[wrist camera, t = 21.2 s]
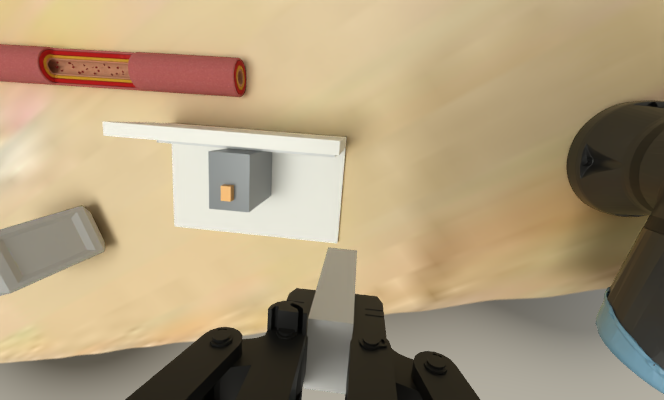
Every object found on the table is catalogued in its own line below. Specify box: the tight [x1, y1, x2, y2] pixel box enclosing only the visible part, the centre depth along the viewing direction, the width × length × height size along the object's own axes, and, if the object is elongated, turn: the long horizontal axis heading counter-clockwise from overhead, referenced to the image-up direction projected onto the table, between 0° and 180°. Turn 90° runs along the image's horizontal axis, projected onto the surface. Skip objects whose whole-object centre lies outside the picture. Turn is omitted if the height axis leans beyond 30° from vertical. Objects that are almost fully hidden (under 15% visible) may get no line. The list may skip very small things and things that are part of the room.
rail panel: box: [103, 122, 347, 243], centre depth 43 cm, size 26×16×14 cm, turn 86°
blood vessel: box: [0, 44, 246, 97], centre depth 47 cm, size 42×5×5 cm, turn 86°
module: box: [208, 148, 272, 212], centre depth 44 cm, size 5×7×11 cm
